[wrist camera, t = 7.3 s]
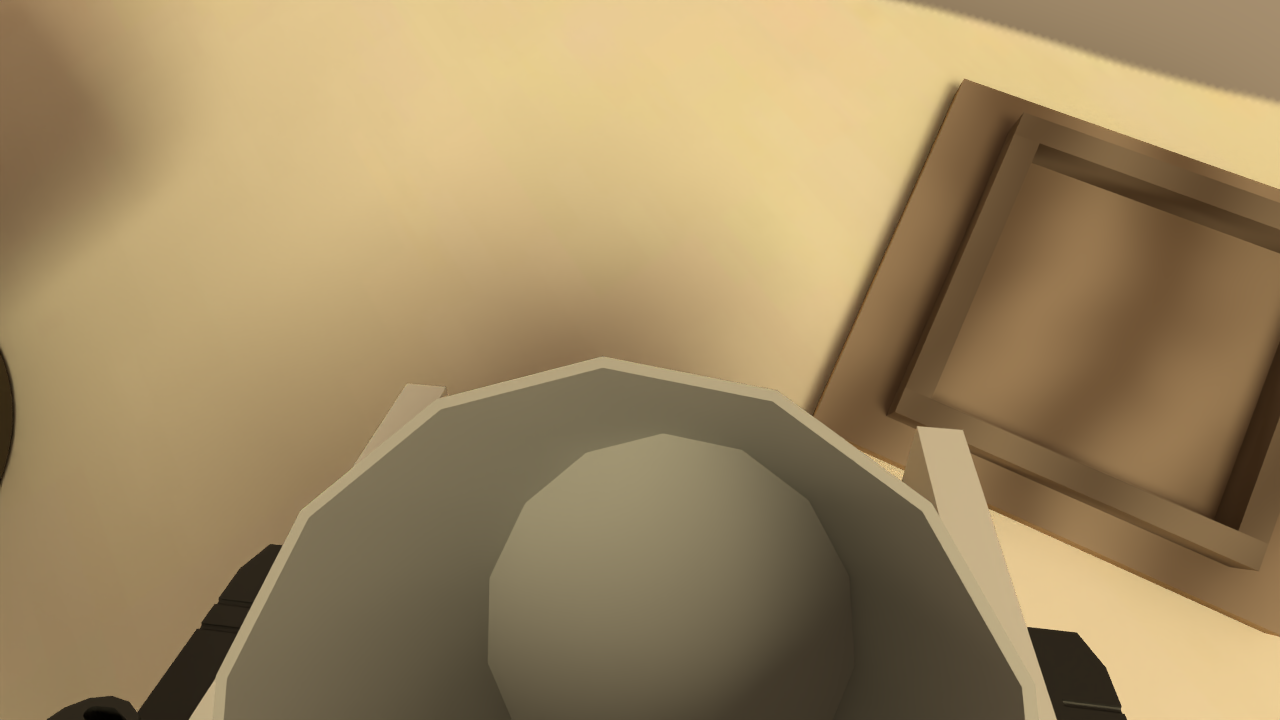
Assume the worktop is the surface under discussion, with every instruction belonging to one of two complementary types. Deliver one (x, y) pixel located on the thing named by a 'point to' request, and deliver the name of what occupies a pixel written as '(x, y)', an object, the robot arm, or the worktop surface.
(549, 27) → the worktop surface
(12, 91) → the worktop surface
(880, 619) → the cup
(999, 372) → the brown wooden tray
